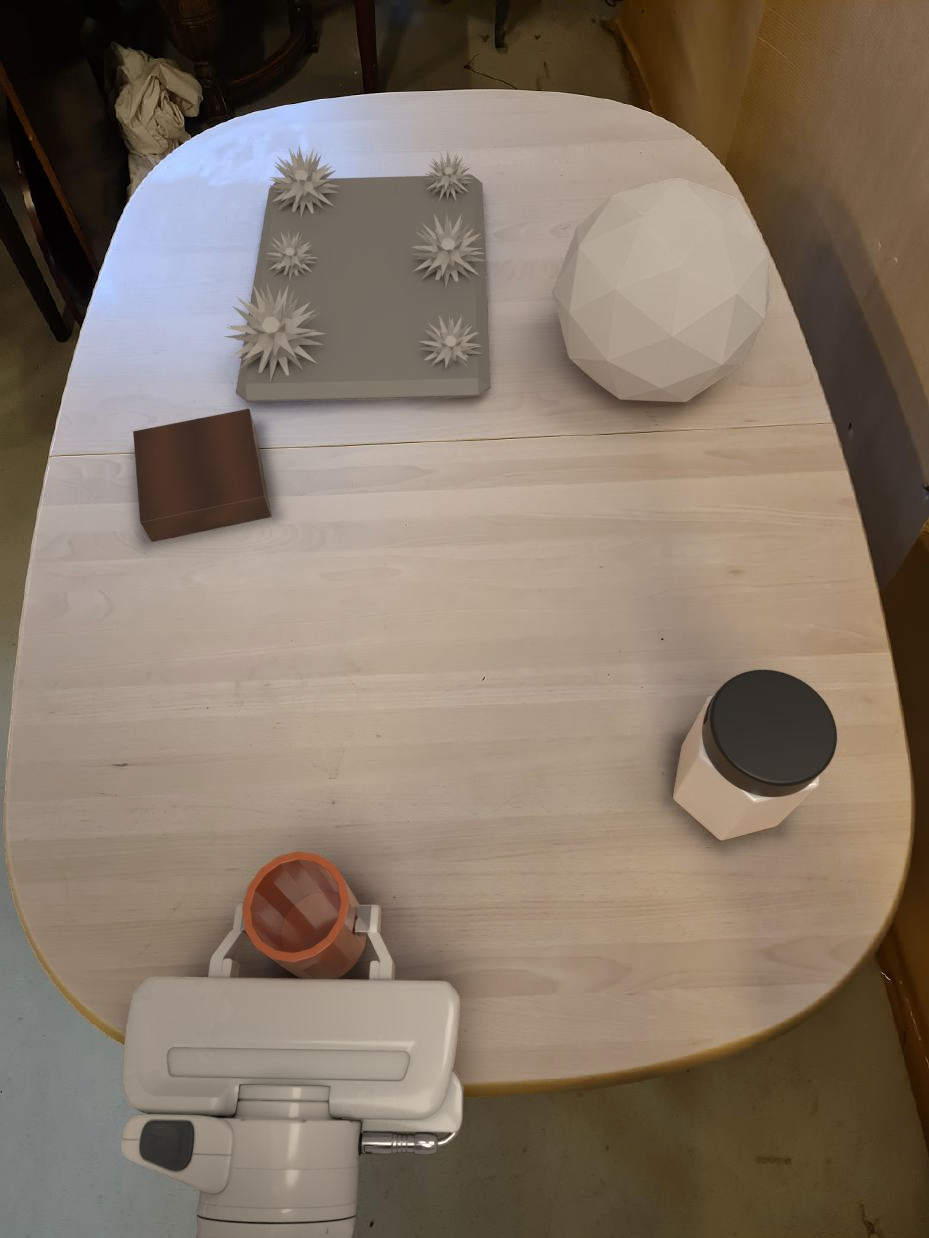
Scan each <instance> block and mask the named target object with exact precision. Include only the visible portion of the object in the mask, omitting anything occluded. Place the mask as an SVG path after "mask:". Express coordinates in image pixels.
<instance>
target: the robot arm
mask: <svg viewBox="0 0 929 1238" xmlns="http://www.w3.org/2000/svg"><path fill="white" fill-rule="evenodd" d="M243 903H244V902H237V904H236V906H235V911H234V919H233V925H232V930H230V931H228V933H227V935H226V936H225V937H224V939H223V940H222V942H221V943H220V945H219V946H218V947H217V948H216V950H215V951H214V953H213V954H212V955H211V957H210V961H209V966H208V973H207V976H169V975H168V976H161V975H160V976H159V975H153V976H152V975H151V976H148V977H147V978H145V979H144V980H143V981H142V982H141V984H140V985H138V987H137V988H136V989H135V990H134V991H133V994H132V995H131V998H130V1003H129V1007H128V1013H127V1019H126V1026H125V1033H124V1034H125V1035H124V1043H123V1054H122V1073H121V1074H122V1077H121V1079H122V1081H121V1082H122V1087H123V1092H124V1095H125V1096H124V1097H125V1098H126V1100H127V1102H128V1103H129V1105H130V1106H131V1107H133V1109H135V1110H136V1111H138V1112H140V1113H141V1114H136V1115H133V1116H131V1117H130V1118H129V1119H128V1120H127V1121H126V1123H125V1124H124V1127H123V1131H122V1135H121V1141H120V1152H121V1154H122V1156H123V1157H124V1158H125V1159H127V1160H129V1161H131V1162H132V1163H134V1164H136V1165H137V1164H138V1165H139V1166H142V1167H145V1168H147V1169H149V1170H152V1171H154V1172H157V1173H159V1174H162V1175H163V1176H166V1177H168V1178H171V1179H172V1180H175V1181H177V1182H180V1183H182V1184H185V1185H186V1186H189V1187H191V1188H194V1189H196V1190H197V1191H199V1196H198V1201H197V1210H196V1237H195V1238H352V1237H353V1234H354V1231H355V1227H356V1221H357V1212H358V1211H357V1210H358V1209H357V1208H358V1195H359V1194H358V1193H359V1180H360V1179H359V1177H360V1161H361V1155H391V1154H393V1155H394V1154H401V1153H403V1154H405V1153H407V1154H408V1153H409V1154H410V1153H411V1154H414V1155H417V1156H430V1155H434V1154H437V1153H438V1150H439V1149H438V1148H441V1147H445V1146H447V1145H448V1144H450V1143H451V1142H453V1141H454V1140H455V1139H456V1137H457V1136H458V1135H459V1133H460V1131H461V1130H462V1127H463V1124H464V1120H465V1088H464V1083H463V1080H462V1078H461V1076H460V1074H459V1073H458V1072H457V1070H456V1069H455V1061H456V1056H457V1049H458V1041H459V1032H460V1021H461V996H460V993H459V992H458V991H457V990H456V988H455V987H454V985H452V984H451V983H450V982H449V981H447V980H421V979H420V980H418V979H416V980H415V979H414V980H413V979H412V980H411V979H396V978H395V977H396V976H395V974H396V963H395V962H394V960H393V958H392V955H391V954H390V951H389V949H388V947H387V945H386V943H385V941H384V939H383V937H382V936H381V927H382V907H381V906H380V904H372V903H371V904H360V905H357V908H356V912H357V913H356V914H357V916H358V918H357V920H356V921H355V933H356V934H357V936H360V937H367V938H369V940H370V942H371V944H372V946H373V949H374V951H375V953H376V955H377V957H378V960H371V961H370V963H369V975H368V979H360V978H359V979H357V978H356V979H355V978H353V979H352V978H351V979H349V978H337V979H300V978H295V977H294V978H291V977H289V978H286V977H285V978H284V977H283V978H282V977H240V969H241V964H240V963H239V962H237V961H236V960H234V959H235V958H236V957H237V955H238V953H239V952H240V950H241V949H242V948H243V946H244V944H245V943H246V942H247V940H248V938H249V936H248V934H247V933H246V931H245V928H244V920H243V912H242V907H243ZM408 1132H409V1133H408ZM438 1133H448V1134H447V1135H446V1136H443V1137H441V1138H439V1135H438Z"/></svg>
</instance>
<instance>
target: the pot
mask: <svg viewBox="0 0 929 1238" xmlns="http://www.w3.org/2000/svg"><path fill="white" fill-rule="evenodd" d="M242 903H243V907H242V912H243V920H244V928H245V931H246V933H247V934H248V936H249V937H248V938H249V940H250V941H251V943H252V944H253V946H254V947H255V949H257V950H258V951H260V952H261V953H262V954H263V955H265V956H267V957H268V958H269V959H271V961H272V960H273V962H275V963H276V964H278V965H279V966H281V967H282V968H283V969H284V970H287V971H288V972H289V973H291V974H293V975H294V976H296V977H297V979H340V977H342V976H344V975H346V974H347V973H348V972H350V970H352V969H353V967H354V966H356V964H357V963H358V961H359V960H360V958H361V956H362V955H363V952H364V950H365V949H366V945H367V944H366V943H367V940H368V939H367V938H368V937H360V936H357V934H356V933H355V921H356V920H357V918H358V916H357V914H356V913H357V912H356V908H357V905H361V904H360V903H359V901H358V900H357V898H356V896H355V894H354V893H353V891H352V890H351V888H350V886H349V885H348V883H347V881H346V880H345V878H344V877H343V875H342V874H341V872H340V871H339V869H338V868H337V866H336V865H335V864H334V863H332V862H331V861H329V860H328V859H327V858H325V857H324V856H322V855H320V854H317V853H312V852H305V851H295V852H291V853H287V854H283V855H278V856H277V857H275V858H274V859H272V860H271V861H269V862H268V863H266V864H265V865H264V866H262V867H261V868H260V869H259V870H258V871H257V873H256V874H255V876H254V877H253V878H252V879H251V881H250V883H249V884H248V886H247V888H246V892H245V896H244V899H243V902H242Z"/></svg>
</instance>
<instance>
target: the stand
mask: <svg viewBox="0 0 929 1238" xmlns="http://www.w3.org/2000/svg"><path fill="white" fill-rule="evenodd" d="M132 434H133V435H132V436H133V447H134V461H135V472H136V474H135V476H136V487H137V499H138V510H139V523H140V525H141V526H142V528H143V530H144V531H145V533H146V535H147V537H148V538H149V540H150V542H151V543H153V542H158V541H162V540H167V539H171V538H176V537H183V536H186V535H190V534H191V535H192V534H196V533H200V532H205V531H209V530H215V529H219V528H225V527H229V526H234V525H238V524H244V523H248V522H253V521H257V520H263V519H266V518H271V517H272V512H271V506H270V502H269V495H268V489H267V483H266V478H265V472H264V466H263V460H262V456H261V449H260V444H259V438H258V432H257V428H256V425H255V421H254V418H253V416H252V413H251V410H250V408H246V409H240V410H235V411H230V412H224V413H219V414H213V415H209V416H204V417H198V418H194V419H190V420H184V421H178V422H174V423H168V424H164V425H158V426H154V427H149V428H143V429H138V430H137V429H136V430H132Z"/></svg>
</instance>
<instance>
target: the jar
mask: <svg viewBox="0 0 929 1238" xmlns="http://www.w3.org/2000/svg"><path fill="white" fill-rule="evenodd" d="M837 743H838V730H837V724H836V721H835V717H834V715H833V712H832V711H831V709H830V707H829V705H828V704H827V703H826V701H825V700H824V699H823V697H822V696H821V695H820V694H819V693H818V692H817V690H816V689H814V688H813V687H812V686H810V685H809V684H808V683H807V682H805V681H803V680H802V679H801V678H798V677H796V676H794V675H792V674H789V673H786V672H783V671H779V670H773V669H752V670H748V671H744V672H741V673H739V674H736V675H734V676H732V677H731V678H729V679H728V680H727V681H726V682H724V683H723V684H722V685H721V686H720V687H719V689H717V691H716V692H715V694H714V695H710V696H708V697H707V699H705V702H704V704H703V706H702V708H701V709H700V711H699V713H698V715H697V717H696V718H695V721H694V722H693V724H692V726H691V727H690V729H689V731H688V733H687V735H686V736H685V738H684V740H683V742H682V744H681V747H680V753H679V759H678V764H677V769H676V776H675V781H674V782H675V783H674V788H673V794H672V799H673V800H674V802H676V804H678V805H679V806H680V807H681V808H682V809H684V811H686V813H688V814H689V815H690V816H691V817H692V818H693V819H695V820H696V821H697V822H698V823H699V824H701V826H702V827H704V828H705V829H706V830H707V831H708V832H710V833H711V834H712V835H713V836H714V837H715V838H716V839H717V840H719V841H721V842H722V841H726V840H730V839H733V838H737V837H742V836H744V835H748V834H753V833H756V832H760V831H763V830H768V829H772V828H775V827H778V826H779V825H780V823H782V822H783V821H784V820H785V819H786V818H787V817H788V816H789V815H790V814H791V813H792V812H794V810H795V809H796V808H797V807H798V806H799V805H801V804H802V803H803V802H804V801H805V800H806V798H808V797H809V796H810V795H811V794H812V793H813V792H814V791H815V790H816V789H817V788H818V787H819V785H820V777H821V776H820V775H821V774H822V773H824V771H825V770H826V769H827V768H828V766H829V765H830V764H831V762H832V760H833V758H834V756H835V752H836V749H837V745H838V744H837Z"/></svg>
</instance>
